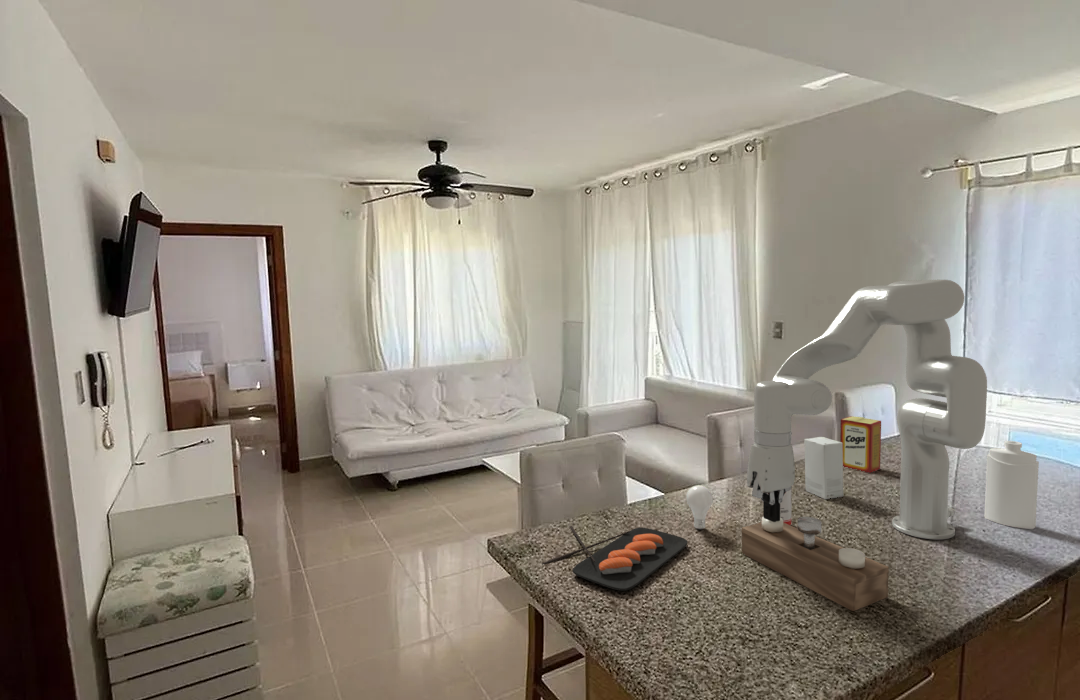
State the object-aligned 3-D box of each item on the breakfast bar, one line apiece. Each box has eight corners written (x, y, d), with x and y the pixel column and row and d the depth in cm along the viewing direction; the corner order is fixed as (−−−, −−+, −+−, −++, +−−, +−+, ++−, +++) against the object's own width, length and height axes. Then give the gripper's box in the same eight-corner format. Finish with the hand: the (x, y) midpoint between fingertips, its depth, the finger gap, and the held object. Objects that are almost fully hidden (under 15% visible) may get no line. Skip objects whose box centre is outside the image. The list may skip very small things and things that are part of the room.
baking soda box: (880, 468, 183) (881, 419, 182) (870, 473, 180) (871, 422, 178) (849, 462, 191) (850, 415, 190) (839, 466, 187) (840, 418, 186)
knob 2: (848, 584, 113) (848, 546, 113) (869, 594, 109) (870, 554, 109) (833, 589, 111) (833, 551, 111) (854, 600, 108) (854, 560, 107)
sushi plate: (625, 601, 112) (625, 582, 111) (513, 559, 131) (512, 542, 131) (692, 547, 134) (692, 532, 133) (587, 518, 153) (587, 504, 153)
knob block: (774, 543, 133) (774, 518, 133) (888, 597, 109) (888, 566, 108) (741, 553, 129) (741, 527, 128) (853, 611, 105) (853, 580, 104)
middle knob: (807, 550, 122) (807, 515, 121) (825, 559, 118) (826, 522, 117) (792, 555, 120) (792, 519, 119) (810, 564, 116) (811, 526, 115)
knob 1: (771, 547, 130) (771, 514, 130) (787, 554, 126) (787, 520, 126) (757, 551, 129) (757, 518, 128) (773, 559, 125) (773, 524, 124)
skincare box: (844, 497, 160) (844, 442, 159) (823, 500, 159) (824, 445, 157) (822, 487, 168) (823, 435, 167) (803, 490, 167) (803, 437, 165)
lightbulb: (714, 525, 144) (714, 483, 143) (710, 535, 139) (710, 491, 138) (689, 522, 147) (688, 480, 146) (684, 532, 141) (683, 488, 140)
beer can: (794, 530, 140) (794, 466, 138) (766, 529, 141) (767, 466, 139) (788, 520, 146) (788, 459, 144) (762, 519, 147) (762, 458, 146)
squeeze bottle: (987, 514, 145) (982, 520, 142) (991, 437, 143) (985, 441, 140) (1037, 525, 138) (1032, 531, 135) (1041, 444, 136) (1036, 448, 133)
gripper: (783, 430, 131) (782, 507, 133) (733, 439, 125) (733, 520, 127) (811, 437, 125) (809, 518, 127) (760, 446, 118) (760, 532, 120)
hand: (771, 519), depth 127 cm, fingers closed
